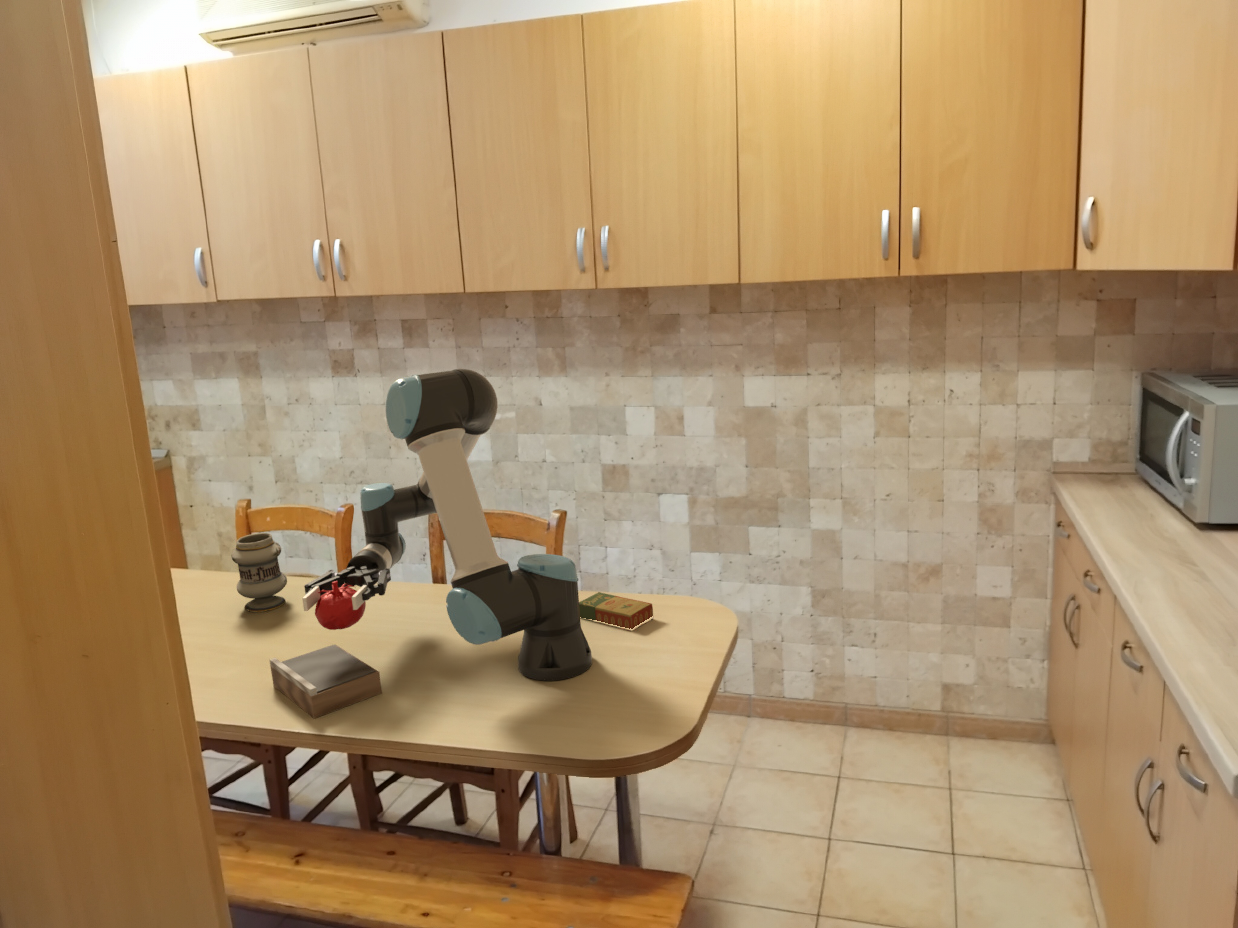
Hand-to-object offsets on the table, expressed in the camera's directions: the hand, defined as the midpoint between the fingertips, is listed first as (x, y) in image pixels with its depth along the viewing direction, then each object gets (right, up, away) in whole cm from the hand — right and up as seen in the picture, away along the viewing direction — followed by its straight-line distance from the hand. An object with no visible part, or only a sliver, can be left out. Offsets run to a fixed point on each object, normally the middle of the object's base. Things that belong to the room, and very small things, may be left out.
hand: (329, 603), depth 186 cm
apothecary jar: (-33, -8, +54) cm, 64 cm away
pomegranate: (+1, -5, +6) cm, 8 cm away
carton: (+56, -8, +31) cm, 65 cm away
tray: (-2, -18, +4) cm, 18 cm away
